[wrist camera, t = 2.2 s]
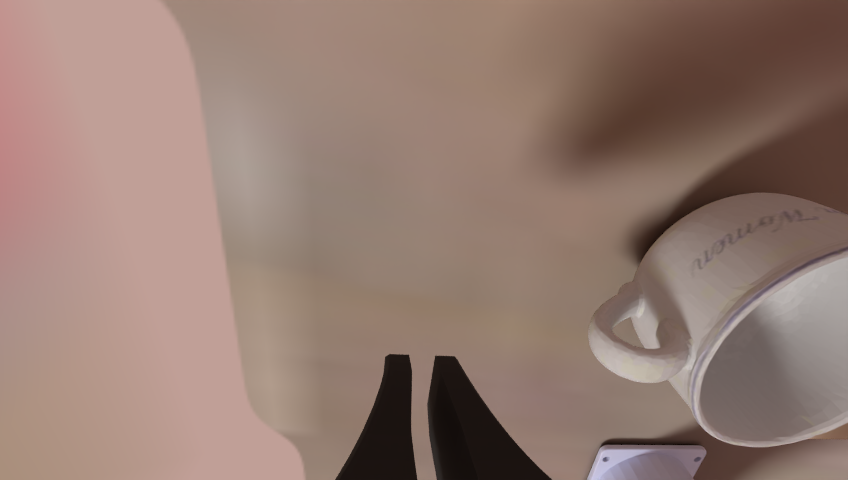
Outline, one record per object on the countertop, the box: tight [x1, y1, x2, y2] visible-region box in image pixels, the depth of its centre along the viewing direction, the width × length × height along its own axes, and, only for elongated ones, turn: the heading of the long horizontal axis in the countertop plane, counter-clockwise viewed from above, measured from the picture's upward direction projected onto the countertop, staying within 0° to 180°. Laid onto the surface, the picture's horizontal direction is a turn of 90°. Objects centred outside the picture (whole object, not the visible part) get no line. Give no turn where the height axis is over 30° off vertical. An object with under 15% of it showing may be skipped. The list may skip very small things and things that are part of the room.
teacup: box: [589, 193, 848, 447], centre depth 20 cm, size 14×11×8 cm
